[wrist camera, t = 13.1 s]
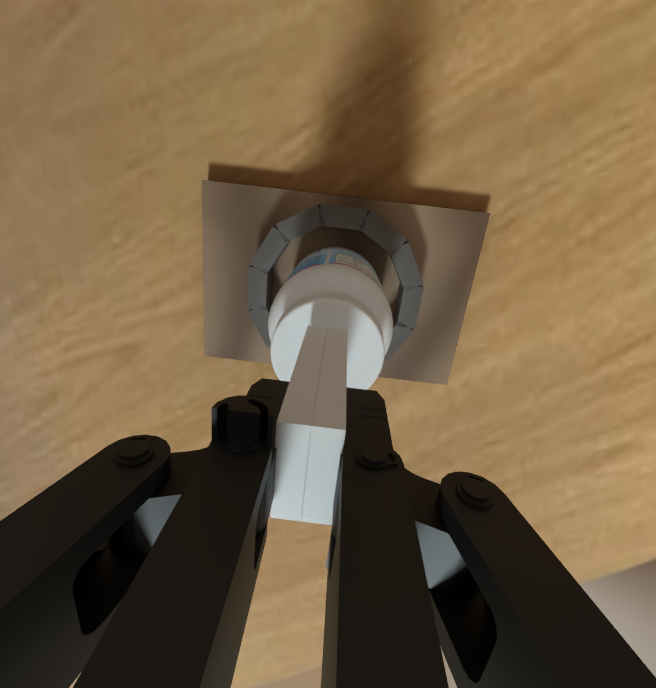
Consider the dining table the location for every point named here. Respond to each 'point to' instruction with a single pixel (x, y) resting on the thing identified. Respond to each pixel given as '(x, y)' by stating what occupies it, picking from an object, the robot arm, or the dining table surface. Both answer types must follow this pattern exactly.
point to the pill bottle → (333, 312)
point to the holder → (345, 231)
